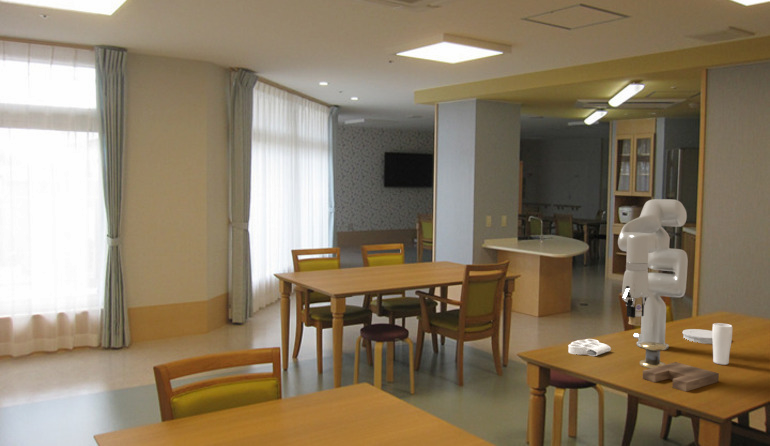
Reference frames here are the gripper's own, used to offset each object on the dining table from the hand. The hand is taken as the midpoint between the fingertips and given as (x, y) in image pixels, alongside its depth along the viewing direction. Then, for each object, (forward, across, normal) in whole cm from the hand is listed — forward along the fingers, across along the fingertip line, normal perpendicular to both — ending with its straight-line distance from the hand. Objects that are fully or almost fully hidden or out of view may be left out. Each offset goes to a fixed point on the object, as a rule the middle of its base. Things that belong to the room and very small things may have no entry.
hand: (635, 315), depth 229 cm
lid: (+19, -69, -11) cm, 72 cm away
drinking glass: (+20, -36, +13) cm, 43 cm away
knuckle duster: (+20, -6, -26) cm, 33 cm away
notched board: (+20, -2, +18) cm, 27 cm away
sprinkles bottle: (+4, 0, 0) cm, 4 cm away
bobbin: (+20, -10, +1) cm, 22 cm away
